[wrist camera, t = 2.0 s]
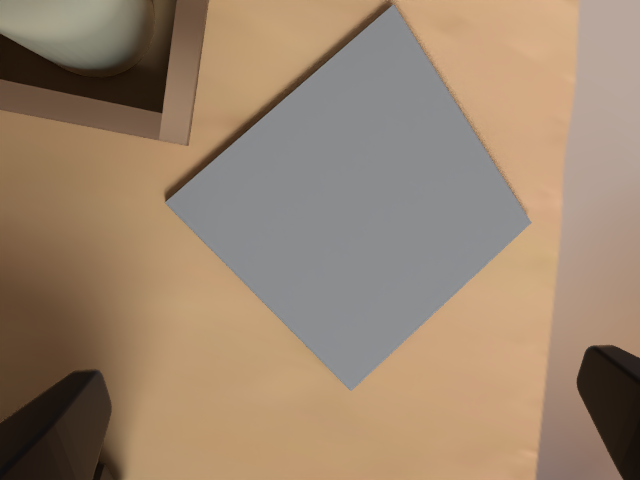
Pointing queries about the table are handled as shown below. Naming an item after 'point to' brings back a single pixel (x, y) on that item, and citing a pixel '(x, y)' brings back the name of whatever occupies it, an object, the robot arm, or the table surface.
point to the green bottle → (82, 32)
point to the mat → (356, 202)
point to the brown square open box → (120, 117)
